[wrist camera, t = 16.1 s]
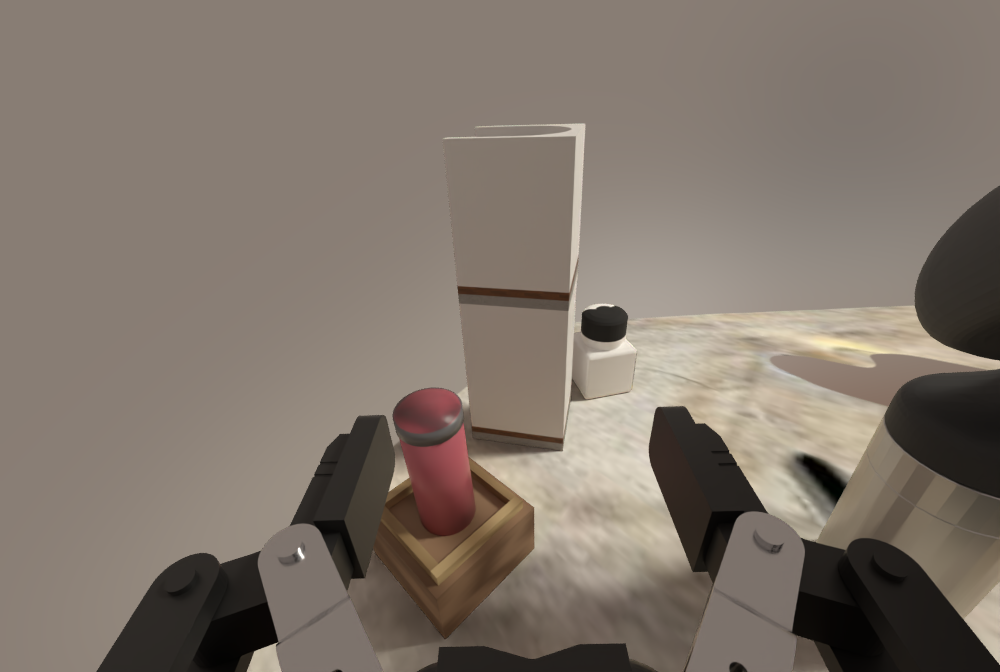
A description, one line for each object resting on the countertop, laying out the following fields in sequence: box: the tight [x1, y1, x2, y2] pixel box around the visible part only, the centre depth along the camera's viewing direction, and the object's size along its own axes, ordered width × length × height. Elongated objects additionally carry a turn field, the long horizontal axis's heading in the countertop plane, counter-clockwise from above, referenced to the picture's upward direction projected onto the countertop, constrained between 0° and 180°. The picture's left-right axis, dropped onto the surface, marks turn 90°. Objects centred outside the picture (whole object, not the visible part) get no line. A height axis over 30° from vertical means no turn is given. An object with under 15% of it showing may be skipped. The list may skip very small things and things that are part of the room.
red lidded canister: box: [393, 388, 476, 536], centre depth 36 cm, size 5×5×12 cm
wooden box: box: [373, 457, 534, 639], centre depth 40 cm, size 11×11×7 cm
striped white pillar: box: [443, 124, 585, 451], centre depth 49 cm, size 11×11×35 cm
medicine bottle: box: [572, 304, 637, 400], centre depth 61 cm, size 7×7×12 cm
